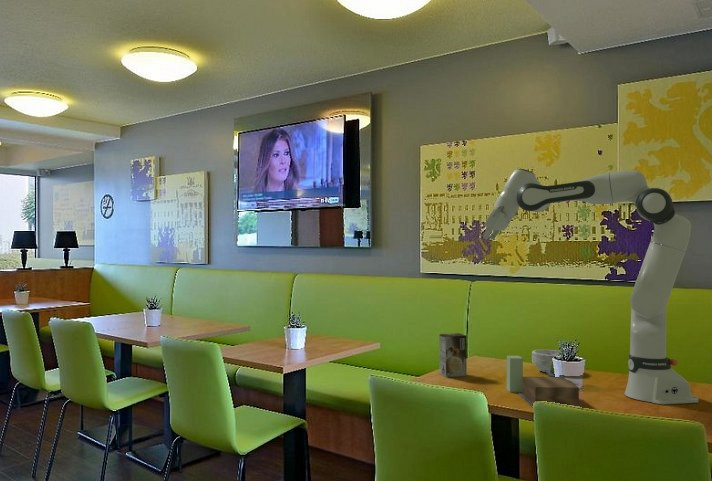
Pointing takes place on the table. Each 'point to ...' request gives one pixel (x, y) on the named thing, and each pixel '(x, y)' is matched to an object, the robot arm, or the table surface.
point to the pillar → (514, 373)
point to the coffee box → (453, 355)
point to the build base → (549, 390)
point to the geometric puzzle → (550, 371)
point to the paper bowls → (543, 358)
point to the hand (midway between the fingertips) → (488, 238)
